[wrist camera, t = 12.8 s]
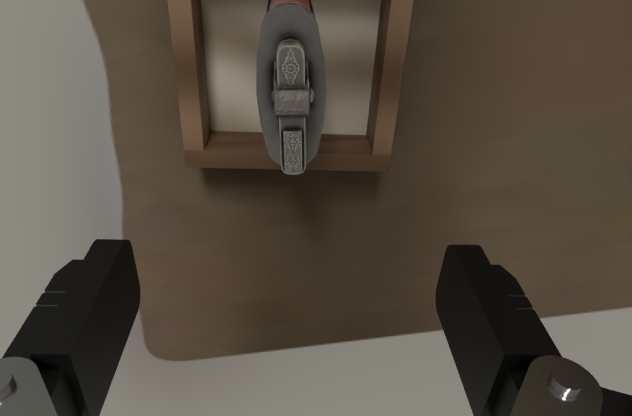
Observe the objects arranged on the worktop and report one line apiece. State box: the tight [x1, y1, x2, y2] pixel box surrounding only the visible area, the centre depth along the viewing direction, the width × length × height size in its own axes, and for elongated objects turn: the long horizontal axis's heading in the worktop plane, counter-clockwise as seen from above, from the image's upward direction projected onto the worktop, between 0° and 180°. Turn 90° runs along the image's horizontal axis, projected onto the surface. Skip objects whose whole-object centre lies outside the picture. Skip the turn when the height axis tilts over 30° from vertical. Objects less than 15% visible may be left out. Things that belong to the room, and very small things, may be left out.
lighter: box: [256, 0, 326, 175], centre depth 25 cm, size 8×3×10 cm, turn 0°
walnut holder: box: [168, 0, 414, 172], centre depth 29 cm, size 13×13×4 cm
